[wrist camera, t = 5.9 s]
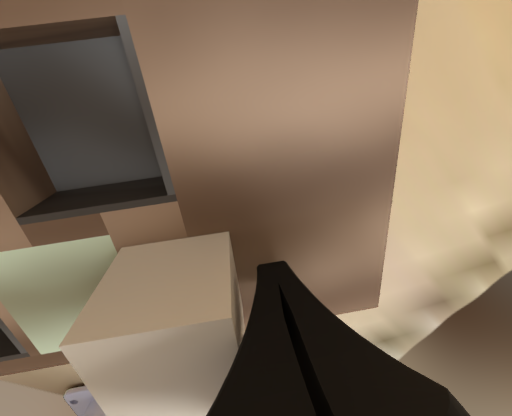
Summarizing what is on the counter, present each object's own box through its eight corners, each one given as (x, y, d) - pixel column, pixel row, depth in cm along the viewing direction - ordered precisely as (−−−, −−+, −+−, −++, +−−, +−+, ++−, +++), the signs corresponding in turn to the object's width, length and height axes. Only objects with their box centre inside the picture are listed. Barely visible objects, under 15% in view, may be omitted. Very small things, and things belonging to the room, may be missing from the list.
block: (242, 307, 13) (251, 409, 9) (152, 322, 13) (118, 433, 9) (228, 231, 11) (231, 317, 7) (121, 247, 11) (58, 346, 7)
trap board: (353, 271, 17) (377, 307, 14) (-30, 338, 15) (-84, 391, 13) (372, -24, 10) (426, -63, 7) (-294, 50, 9) (-520, 34, 6)
